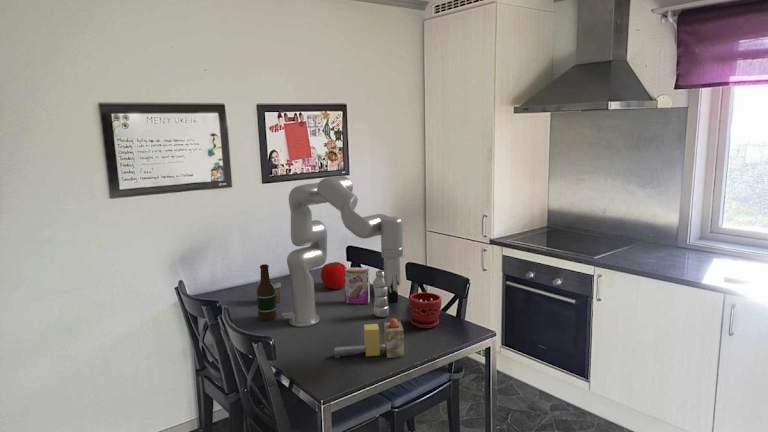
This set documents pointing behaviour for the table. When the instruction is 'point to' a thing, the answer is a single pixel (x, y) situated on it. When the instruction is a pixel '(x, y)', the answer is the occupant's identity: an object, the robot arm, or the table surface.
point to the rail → (356, 349)
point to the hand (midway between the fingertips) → (393, 302)
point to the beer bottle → (266, 297)
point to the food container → (277, 290)
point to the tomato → (333, 275)
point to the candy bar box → (357, 286)
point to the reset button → (393, 323)
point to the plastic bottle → (380, 295)
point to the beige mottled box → (394, 340)
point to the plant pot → (425, 309)
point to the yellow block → (372, 339)
